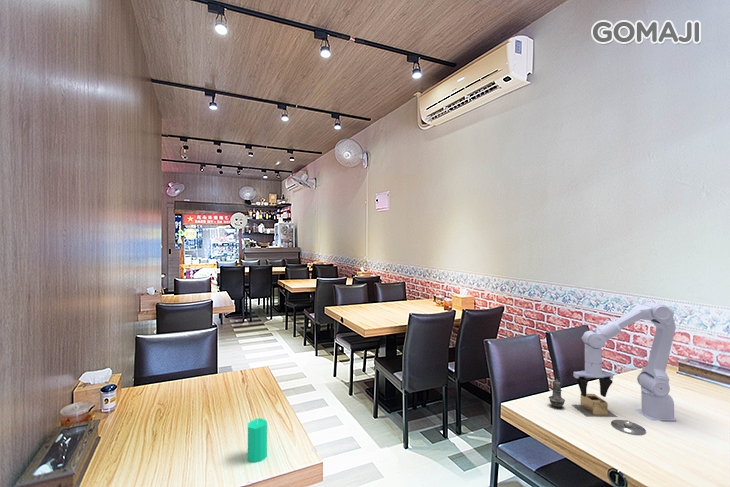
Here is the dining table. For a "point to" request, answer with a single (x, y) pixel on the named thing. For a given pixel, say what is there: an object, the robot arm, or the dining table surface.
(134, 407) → the dining table surface
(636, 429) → the hub
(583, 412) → the mat
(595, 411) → the wooden cubby box
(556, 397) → the stepped metal shaft
